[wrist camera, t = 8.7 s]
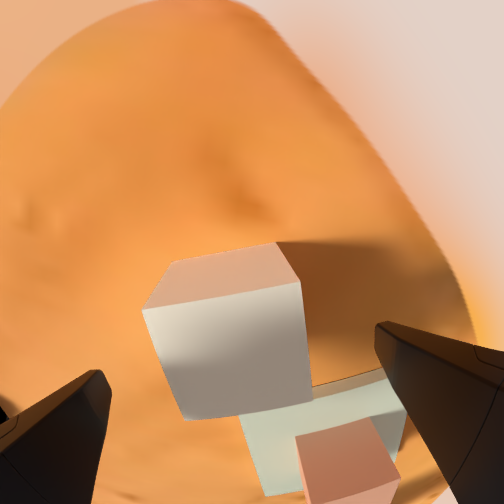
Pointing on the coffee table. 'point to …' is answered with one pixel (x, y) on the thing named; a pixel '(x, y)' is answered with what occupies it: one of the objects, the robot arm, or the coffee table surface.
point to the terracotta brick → (346, 465)
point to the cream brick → (231, 333)
